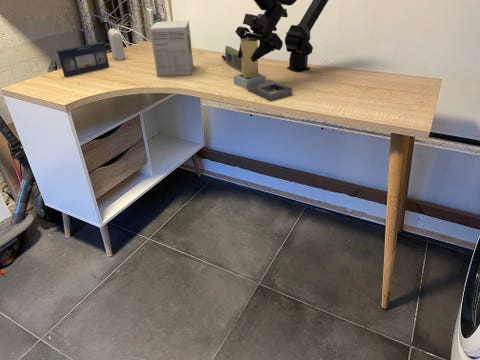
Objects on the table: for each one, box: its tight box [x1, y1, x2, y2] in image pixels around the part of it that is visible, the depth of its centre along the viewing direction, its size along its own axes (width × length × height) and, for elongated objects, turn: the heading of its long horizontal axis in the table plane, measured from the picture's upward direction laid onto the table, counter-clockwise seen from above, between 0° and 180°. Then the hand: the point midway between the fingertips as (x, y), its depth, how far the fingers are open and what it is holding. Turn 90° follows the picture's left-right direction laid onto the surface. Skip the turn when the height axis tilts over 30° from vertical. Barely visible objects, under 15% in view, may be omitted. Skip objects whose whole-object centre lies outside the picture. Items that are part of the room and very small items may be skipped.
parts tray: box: [233, 72, 267, 90], centre depth 132 cm, size 8×8×3 cm
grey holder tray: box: [247, 79, 293, 102], centre depth 124 cm, size 12×9×2 cm
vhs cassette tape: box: [56, 41, 110, 78], centre depth 151 cm, size 18×3×10 cm, turn 129°
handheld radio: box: [221, 45, 242, 73], centre depth 151 cm, size 7×3×25 cm
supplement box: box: [149, 20, 194, 77], centre depth 145 cm, size 13×13×18 cm
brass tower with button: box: [240, 38, 259, 78], centre depth 128 cm, size 5×5×12 cm
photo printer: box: [107, 28, 126, 61], centre depth 167 cm, size 10×4×12 cm, turn 28°
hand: (245, 59), depth 127 cm, fingers closed on brass tower with button, 7 cm apart
